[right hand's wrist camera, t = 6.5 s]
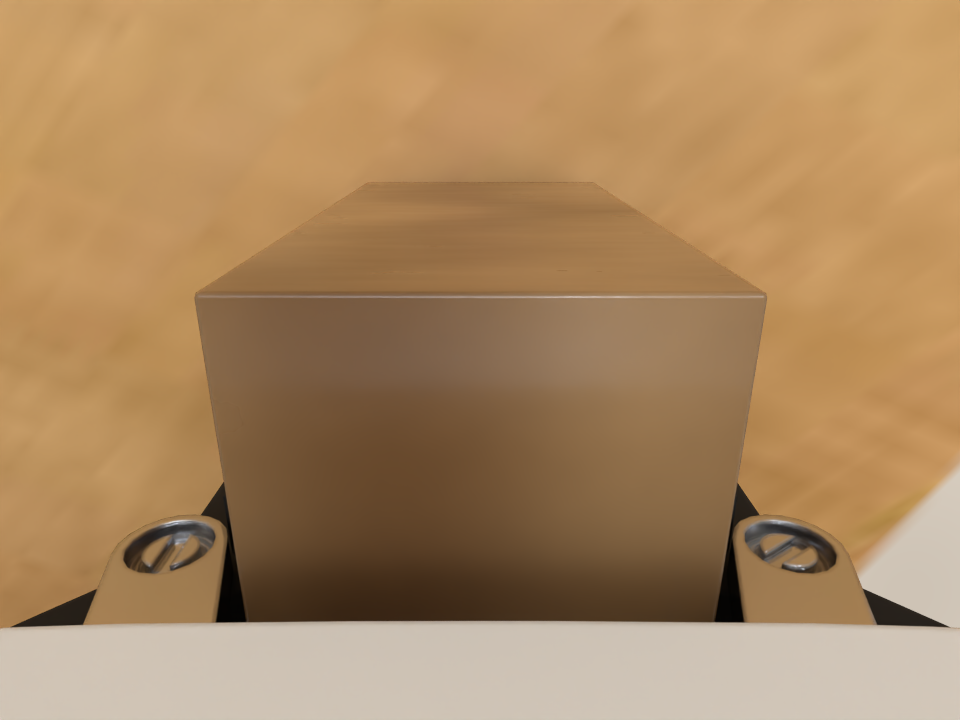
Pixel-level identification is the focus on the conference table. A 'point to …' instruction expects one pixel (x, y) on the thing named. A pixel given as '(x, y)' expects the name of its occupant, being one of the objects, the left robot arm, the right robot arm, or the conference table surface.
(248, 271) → the brick
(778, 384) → the conference table surface
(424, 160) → the conference table surface
